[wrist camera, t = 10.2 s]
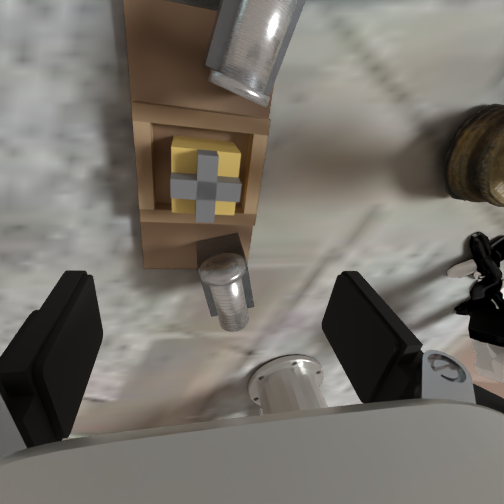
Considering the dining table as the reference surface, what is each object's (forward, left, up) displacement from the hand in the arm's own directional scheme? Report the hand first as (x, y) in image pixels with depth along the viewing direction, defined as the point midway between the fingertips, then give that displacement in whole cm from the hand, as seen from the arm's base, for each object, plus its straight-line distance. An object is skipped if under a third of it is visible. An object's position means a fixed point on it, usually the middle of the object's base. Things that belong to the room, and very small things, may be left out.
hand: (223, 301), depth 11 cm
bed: (0, 0, -19) cm, 18 cm away
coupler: (0, 0, -18) cm, 17 cm away
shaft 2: (+10, -2, -19) cm, 21 cm away
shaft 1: (-9, -2, -19) cm, 21 cm away
